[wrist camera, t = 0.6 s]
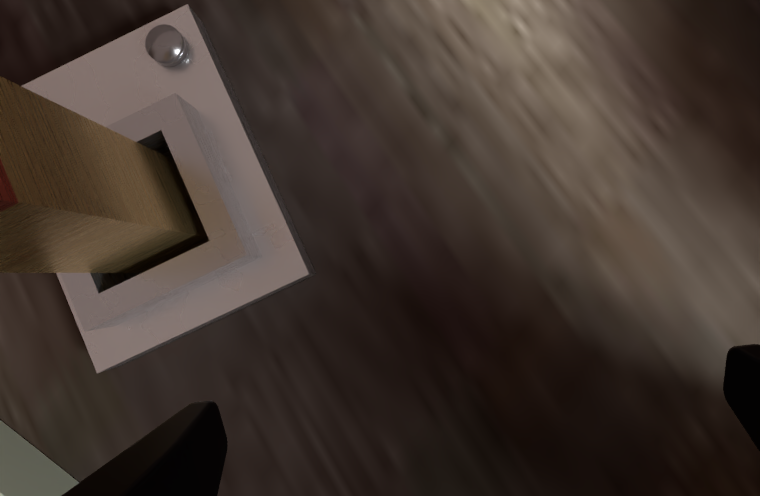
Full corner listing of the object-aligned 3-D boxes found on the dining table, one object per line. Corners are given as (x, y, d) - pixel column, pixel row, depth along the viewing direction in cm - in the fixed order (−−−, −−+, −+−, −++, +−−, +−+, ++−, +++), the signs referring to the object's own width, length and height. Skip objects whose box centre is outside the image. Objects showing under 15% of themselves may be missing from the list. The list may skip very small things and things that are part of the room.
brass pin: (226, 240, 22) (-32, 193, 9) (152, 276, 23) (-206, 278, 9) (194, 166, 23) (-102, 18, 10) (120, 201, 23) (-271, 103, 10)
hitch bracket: (315, 274, 22) (298, 273, 19) (117, 366, 22) (64, 383, 19) (201, 21, 23) (164, -24, 20) (13, 114, 23) (-56, 86, 20)
